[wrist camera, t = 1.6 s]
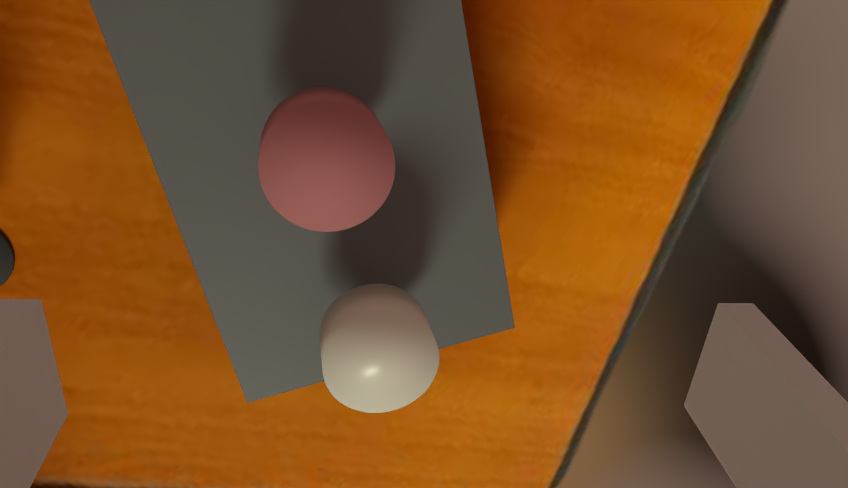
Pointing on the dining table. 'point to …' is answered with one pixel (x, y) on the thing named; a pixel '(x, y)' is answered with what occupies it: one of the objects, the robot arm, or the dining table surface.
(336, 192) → the pink knob
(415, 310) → the cream knob
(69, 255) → the dining table surface
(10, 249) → the sundae
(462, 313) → the control box
